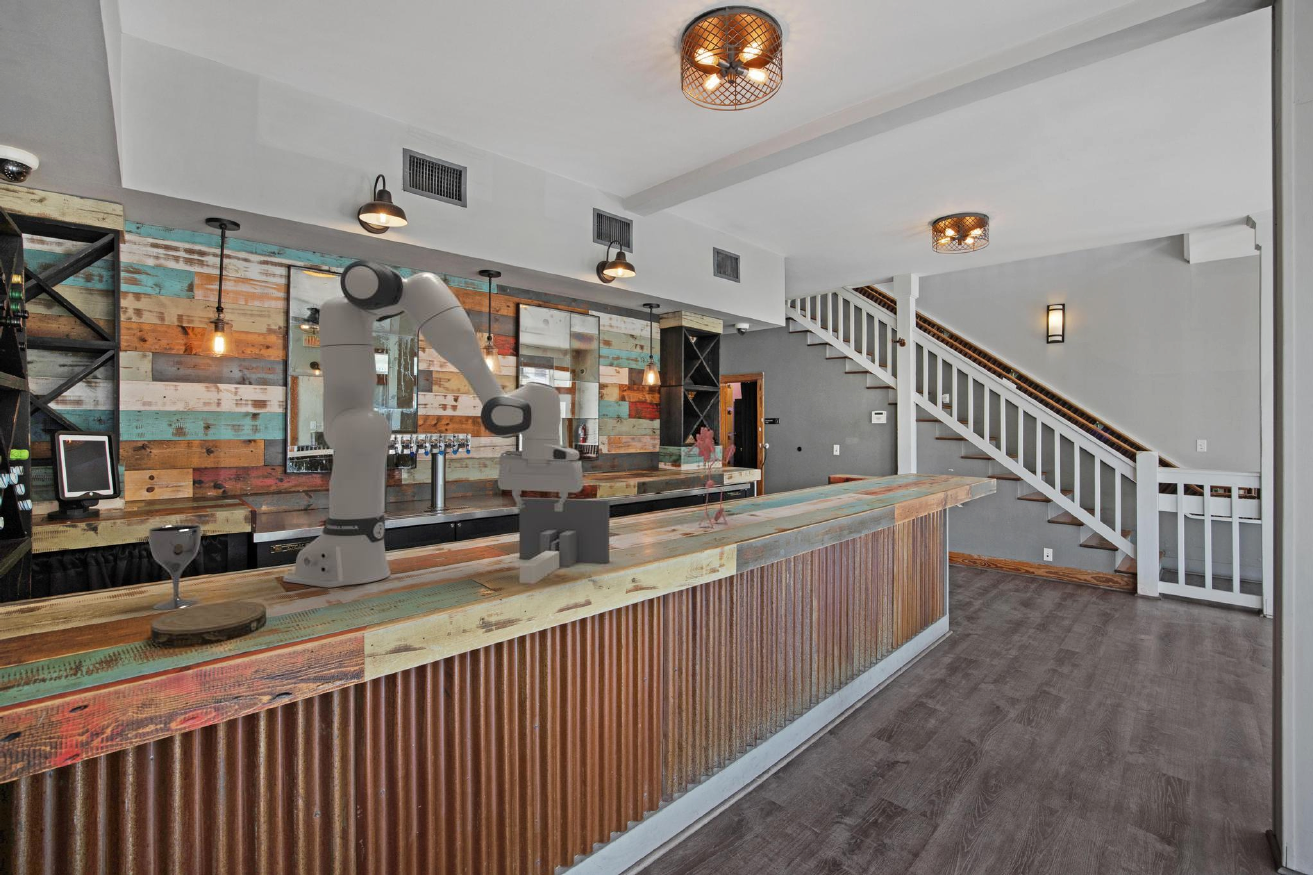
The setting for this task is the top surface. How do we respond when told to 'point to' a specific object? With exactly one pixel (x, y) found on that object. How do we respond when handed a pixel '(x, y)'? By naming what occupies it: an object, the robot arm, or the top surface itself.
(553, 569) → the rail
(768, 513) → the top surface
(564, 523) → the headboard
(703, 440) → the pink spindly flower stalk
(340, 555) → the robot arm
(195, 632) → the wood slice coaster
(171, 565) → the wine glass
